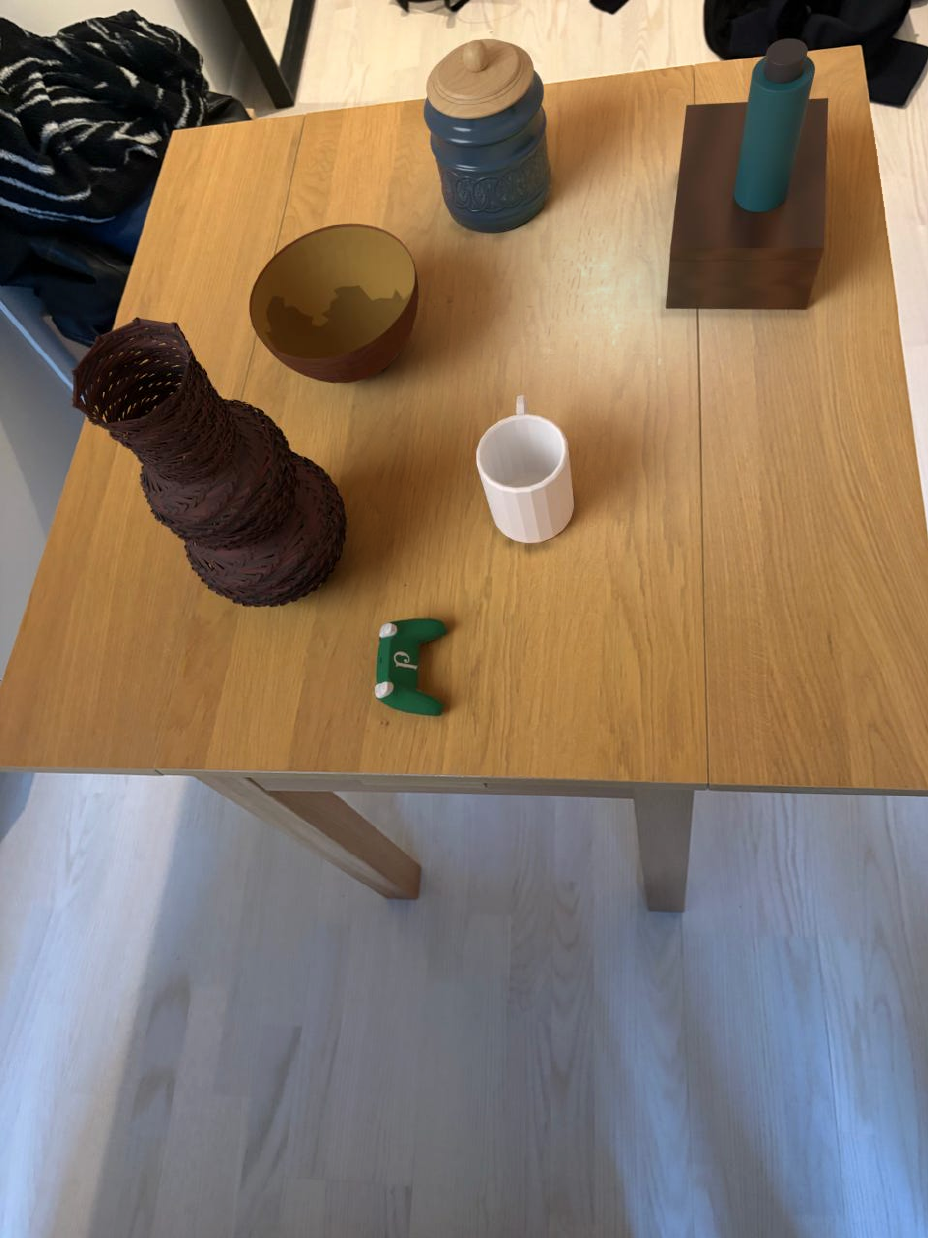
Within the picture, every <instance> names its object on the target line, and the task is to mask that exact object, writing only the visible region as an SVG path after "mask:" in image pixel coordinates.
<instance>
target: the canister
mask: <svg viewBox="0 0 928 1238" xmlns="http://www.w3.org/2000/svg"><path fill="white" fill-rule="evenodd" d="M534 67H535V66H534V63H533V60H532V57H531V56H530V55H529V53H528V52H527V51H526V50H525V49H523V48H522V47H521V46H519V45H516V44H514V43H512V42H508V41H504V40H501V39H496V38H482V39H480V38H479V39H472V40H470V41H467V42H465V43H463V44H461V45H459V46H457V47H455V48H453V50H451V51H449V52H448V53H447V54H446V55H445V56H444V57H443V58H442V59H441V60H439V62H438V63H436V64H435V66H434V67H433V68H432V70H431V71H430V73H429V75H428V78H427V80H426V85H425V87H426V88H425V89H426V90H425V92H426V97H425V101H424V103H423V119H424V122H425V124H426V127H427V128H428V130H429V131H430V137H429V145H430V149H431V152H432V154H433V156H434V158H435V163H436V166H437V170H438V171H437V172H438V175H439V176H438V177H439V179H440V184H441V185H440V187H441V188H440V190H441V195H442V199H443V203H444V205H445V207H446V208H447V210H448V212H449V214H450V216H451V218H452V219H453V221H455V222H456V223H457V224H458V225H460V226H461V227H463V228H465V229H467V230H469V231H474V232H478V233H491V234H492V233H501V232H506V231H508V230H512V229H516V228H517V227H519V226H520V227H521V226H522V225H524V224H525V223H527V222H528V221H530V220H531V219H533V218H535V216H536V215H537V214H538V213H539V212H540V211H541V210H542V209H543V208H544V206H545V205H546V203H547V201H548V199H549V196H550V191H551V185H552V166H551V161H550V159H549V150H548V149H549V148H548V138H547V137H548V136H547V126H548V119H547V113H546V111H545V108H544V106H543V102H544V97H545V87H544V83H543V80H542V78H541V76H540V75H539V73H538V71H536V70H535V68H534Z"/></svg>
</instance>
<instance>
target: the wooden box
mask: <svg viewBox="0 0 928 1238" xmlns="http://www.w3.org/2000/svg"><path fill="white" fill-rule="evenodd" d="M747 104H748V101H739V102H738V101H737V102H717V103H716V102H715V103H699V104H696V103H695V104H686V105H685V113H684V123H683V133H682V141H681V149H680V158H679V167H678V176H677V185H676V194H675V202H674V210H673V211H674V212H673V219H672V220H673V221H672V229H671V238H670V247H669V258H668V273H667V286H666V299H665V309H668V310H669V309H670V310H672V309H675V310H676V309H677V310H775V311H776V310H777V311H778V310H779V311H781V310H783V311H784V310H785V311H786V310H787V311H789V310H790V311H791V310H793V311H806V310H807V308H808V306H809V301H810V298H811V294H812V291H813V287H814V284H815V281H816V277H817V274H818V271H819V268H820V264H821V262H822V261H821V260H822V257H823V254H824V252H825V251H824V250H825V241H826V240H825V239H826V237H825V236H826V200H827V197H826V196H827V167H828V165H827V163H828V162H827V161H828V131H829V130H828V129H829V98H828V97H822V98H821V97H820V98H809V100H808V105H807V109H806V114H805V118H804V123H803V127H802V131H801V136H800V140H799V145H798V149H797V154H796V158H795V162H794V167H793V171H792V176H791V180H790V185H789V189H788V194H787V197H786V199H785V200H784V202H783V203H782V204H781V205H779V206H778V207H776V208H774V209H772V210H769V211H765V212H752V211H748V210H745V209H743V208H742V207H740V206H739V205H738V204H737V203H736V201H735V199H734V188H735V182H736V175H737V169H738V162H739V156H740V149H741V143H742V136H743V130H744V123H745V117H746V110H747Z"/></svg>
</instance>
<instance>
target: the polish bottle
mask: <svg viewBox="0 0 928 1238" xmlns="http://www.w3.org/2000/svg"><path fill="white" fill-rule="evenodd" d="M808 51H809V49H808V46H807V45H806V43H805V42H803V41H802V40H801V39H797V38H783V39H779V40H777V41H775V42H773V43H772V44H771V45H769V47H768V48H767V50H766V55H765V56H764V57H762V58H761V59H759V60H758V61H757V62H756V64H755V65H754V67H753V69H752V72H751V79H750V85H749V91H748V98H747V102H748V104H747V110H746V117H745V123H744V130H743V136H742V143H741V149H740V156H739V162H738V169H737V175H736V182H735V188H734V199H735V201H736V203H737V204H738V205H739V206H740V207H742V208H743V209H745V210H748V211H752V212H765V211H769V210H772V209H774V208H776V207H778V206H779V205H781V204H782V203H783V202H784V200H785V199H786V197H787V194H788V189H789V185H790V180H791V176H792V171H793V167H794V162H795V158H796V154H797V149H798V145H799V140H800V136H801V131H802V127H803V123H804V118H805V114H806V109H807V105H808V100H809V99H810V95H811V92H812V86H813V82H814V78H815V73H816V65H815V63H814V61H813V59H812V58H810V57H809V55H808V53H809V52H808Z"/></svg>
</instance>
